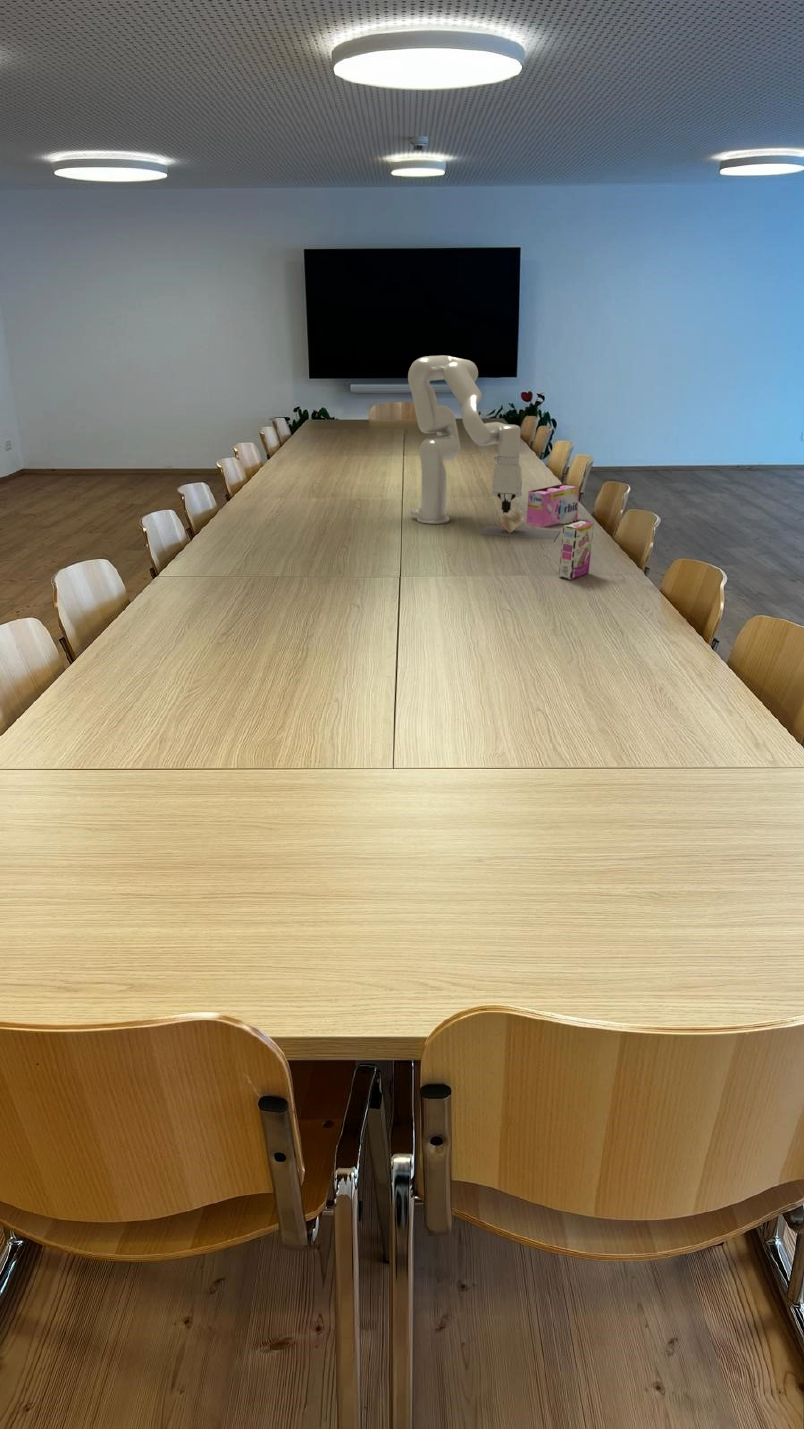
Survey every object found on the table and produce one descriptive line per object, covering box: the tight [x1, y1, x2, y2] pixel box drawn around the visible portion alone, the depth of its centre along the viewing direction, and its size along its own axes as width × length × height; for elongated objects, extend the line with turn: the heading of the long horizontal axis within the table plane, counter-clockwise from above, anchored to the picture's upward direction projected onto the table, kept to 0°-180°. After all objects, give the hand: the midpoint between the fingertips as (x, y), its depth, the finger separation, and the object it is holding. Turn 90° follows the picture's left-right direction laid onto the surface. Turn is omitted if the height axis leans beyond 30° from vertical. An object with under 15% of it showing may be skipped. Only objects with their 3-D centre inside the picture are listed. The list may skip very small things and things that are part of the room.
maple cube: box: [498, 506, 525, 533], centre depth 356 cm, size 6×6×6 cm
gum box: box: [526, 483, 580, 528], centre depth 373 cm, size 24×8×14 cm, turn 135°
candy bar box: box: [558, 520, 595, 581], centre depth 305 cm, size 11×5×16 cm, turn 141°
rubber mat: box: [477, 525, 561, 543], centre depth 357 cm, size 28×14×1 cm, turn 74°
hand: (505, 512), depth 356 cm, fingers closed
